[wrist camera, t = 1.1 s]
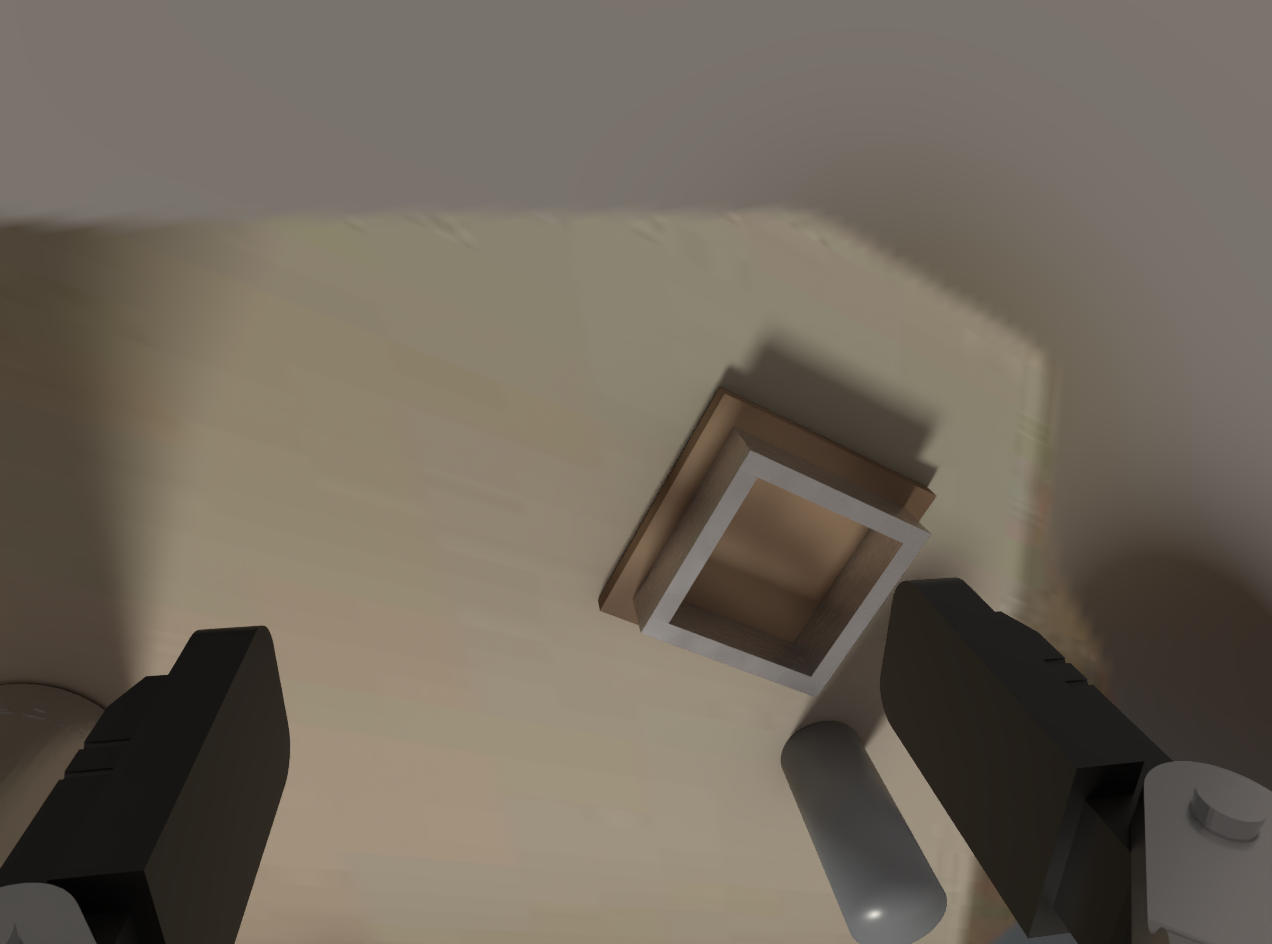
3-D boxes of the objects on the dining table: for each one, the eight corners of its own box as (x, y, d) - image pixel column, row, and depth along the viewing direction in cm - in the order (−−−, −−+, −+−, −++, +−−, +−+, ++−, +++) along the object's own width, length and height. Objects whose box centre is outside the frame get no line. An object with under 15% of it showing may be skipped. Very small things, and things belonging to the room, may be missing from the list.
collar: (798, 662, 46) (816, 697, 43) (632, 599, 43) (640, 633, 40) (904, 506, 43) (931, 533, 40) (733, 426, 40) (750, 450, 37)
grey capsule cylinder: (831, 794, 52) (908, 957, 42) (765, 772, 50) (829, 937, 40) (875, 735, 50) (966, 890, 40) (808, 711, 49) (886, 866, 39)
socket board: (799, 675, 48) (804, 686, 47) (598, 600, 44) (599, 610, 43) (927, 487, 44) (936, 495, 43) (719, 386, 40) (724, 393, 39)
